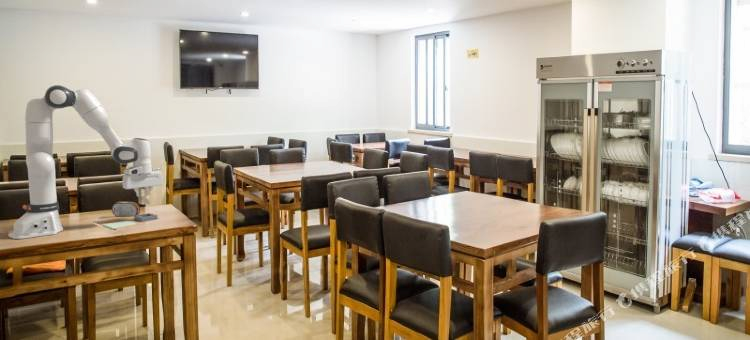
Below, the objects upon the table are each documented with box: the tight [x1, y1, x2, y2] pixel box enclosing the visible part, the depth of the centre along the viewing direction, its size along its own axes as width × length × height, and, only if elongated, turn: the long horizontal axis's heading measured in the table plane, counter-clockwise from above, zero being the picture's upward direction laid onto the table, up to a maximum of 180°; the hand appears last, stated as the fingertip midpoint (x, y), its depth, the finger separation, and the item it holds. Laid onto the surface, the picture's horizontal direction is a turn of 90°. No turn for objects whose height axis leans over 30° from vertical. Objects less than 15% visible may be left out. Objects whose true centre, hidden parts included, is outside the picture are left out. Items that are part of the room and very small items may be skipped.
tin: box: [111, 201, 141, 217], centre depth 297 cm, size 15×3×8 cm, turn 84°
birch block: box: [137, 187, 151, 206], centre depth 286 cm, size 4×4×8 cm
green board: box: [102, 220, 137, 231], centre depth 276 cm, size 12×12×1 cm
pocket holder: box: [131, 212, 160, 223], centre depth 288 cm, size 10×10×3 cm
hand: (143, 195), depth 286 cm, fingers closed on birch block, 4 cm apart
